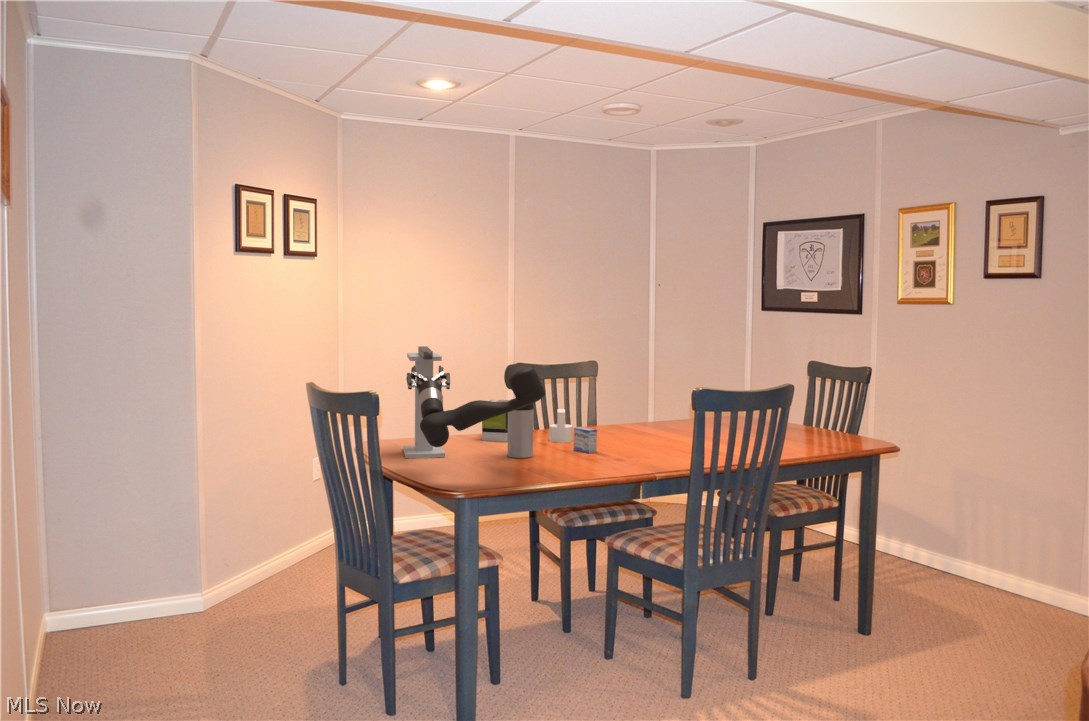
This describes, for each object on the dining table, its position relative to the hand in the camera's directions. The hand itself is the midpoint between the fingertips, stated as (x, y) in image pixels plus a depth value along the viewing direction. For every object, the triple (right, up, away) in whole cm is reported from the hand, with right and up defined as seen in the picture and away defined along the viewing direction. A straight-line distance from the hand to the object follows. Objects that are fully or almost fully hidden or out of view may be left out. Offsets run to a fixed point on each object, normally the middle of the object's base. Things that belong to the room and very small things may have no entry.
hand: (427, 367), depth 293 cm
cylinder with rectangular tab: (+46, -30, +52) cm, 76 cm away
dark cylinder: (-2, +4, +13) cm, 14 cm away
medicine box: (+55, -32, +31) cm, 71 cm away
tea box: (+21, -29, +55) cm, 66 cm away
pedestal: (-4, -31, +22) cm, 39 cm away
